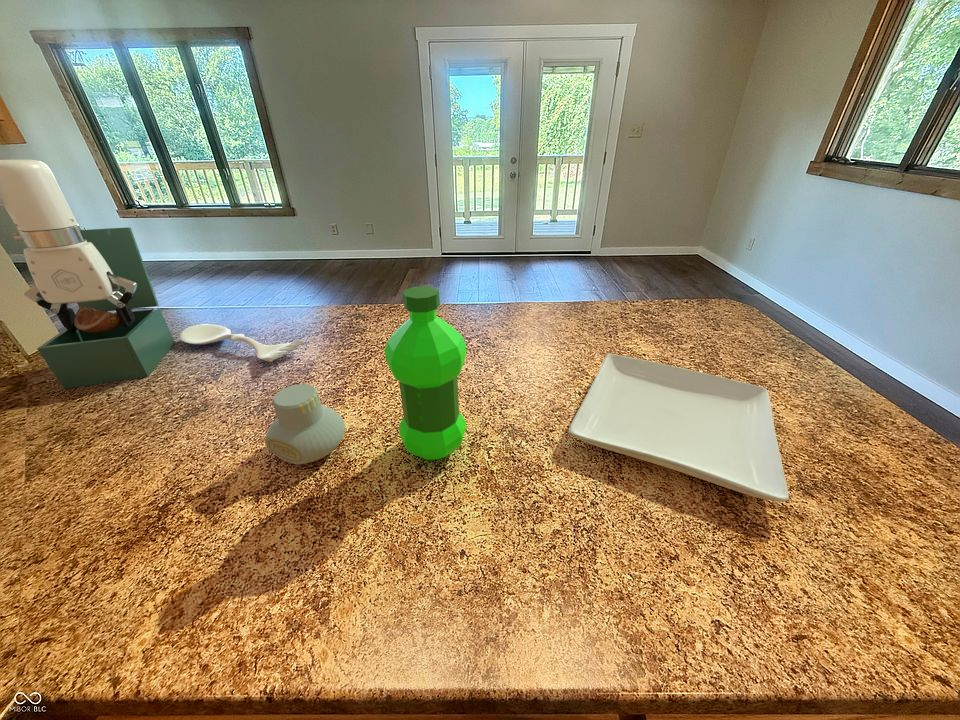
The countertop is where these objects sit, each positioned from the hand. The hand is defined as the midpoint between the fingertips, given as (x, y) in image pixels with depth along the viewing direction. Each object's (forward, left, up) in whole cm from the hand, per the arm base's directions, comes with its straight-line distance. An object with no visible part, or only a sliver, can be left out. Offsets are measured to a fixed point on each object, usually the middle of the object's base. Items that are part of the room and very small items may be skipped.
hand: (103, 326), depth 76 cm
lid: (0, +9, +9) cm, 12 cm away
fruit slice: (0, 0, -1) cm, 1 cm away
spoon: (+22, 0, -9) cm, 24 cm away
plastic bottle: (+57, -46, -9) cm, 74 cm away
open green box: (0, 0, -9) cm, 9 cm away
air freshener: (+39, -40, -9) cm, 57 cm away
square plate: (+95, -53, -9) cm, 109 cm away
